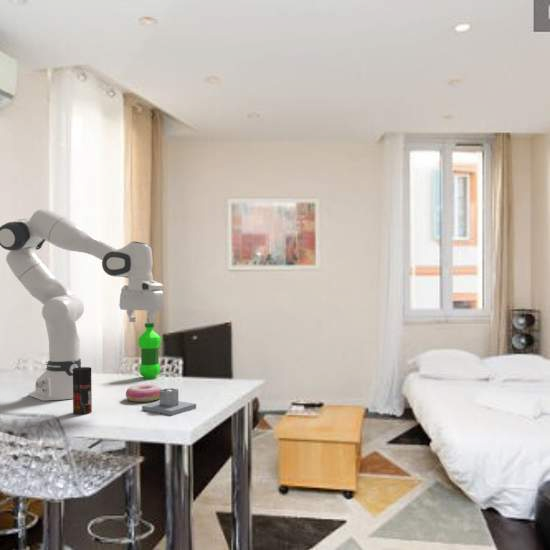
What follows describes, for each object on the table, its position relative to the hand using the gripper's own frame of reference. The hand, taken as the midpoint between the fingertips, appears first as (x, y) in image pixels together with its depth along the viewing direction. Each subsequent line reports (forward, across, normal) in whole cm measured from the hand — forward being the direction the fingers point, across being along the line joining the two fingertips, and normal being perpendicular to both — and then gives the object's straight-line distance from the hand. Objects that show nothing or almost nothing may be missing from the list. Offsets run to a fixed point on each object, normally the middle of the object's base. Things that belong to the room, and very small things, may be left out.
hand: (141, 322), depth 203 cm
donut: (+30, -2, +2) cm, 30 cm away
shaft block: (+29, +18, -4) cm, 34 cm away
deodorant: (+29, -4, -23) cm, 37 cm away
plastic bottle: (+29, -33, +36) cm, 57 cm away
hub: (+28, +18, -4) cm, 33 cm away
